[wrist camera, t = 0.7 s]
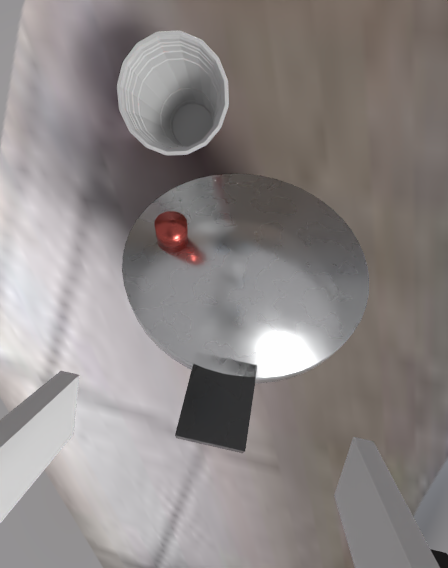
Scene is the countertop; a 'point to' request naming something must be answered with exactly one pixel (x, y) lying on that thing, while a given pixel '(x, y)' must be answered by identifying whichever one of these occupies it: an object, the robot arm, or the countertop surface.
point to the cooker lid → (242, 291)
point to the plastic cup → (173, 93)
